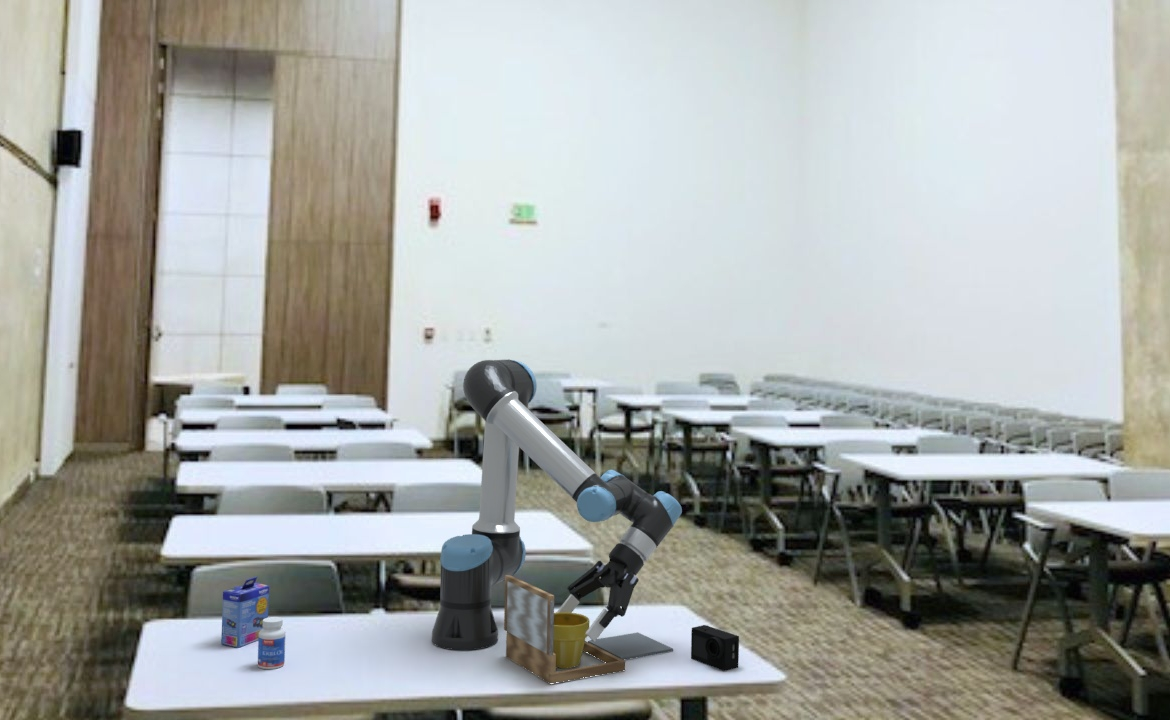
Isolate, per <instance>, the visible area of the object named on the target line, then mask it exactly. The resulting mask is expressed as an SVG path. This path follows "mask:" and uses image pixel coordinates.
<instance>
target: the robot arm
mask: <svg viewBox="0 0 1170 720" xmlns="http://www.w3.org/2000/svg"><path fill="white" fill-rule="evenodd" d="M462 387H463V394H464V397H465V399H466V401H467V402H468V404H469V405H470V407H472V409H473V410H474V411H475V412H476V414H478V415H479V416H480V417H481V418H482V419H483V420H484V435H483V452H482V453H483V454H482V467H481V468H482V469H481V470H482V471H481V481H480V482H481V483H480V498H479V499H480V501H479V513H478V514H479V517H478V520H476V522H475V523H474V524H472V527H471V533H469V534H463V535H457V536H453V537H451V538H449V539H447V540H445V541H444V543H443V544H442V546H441V553H440V559H439V563H440V588H439V589H440V593H439V595H440V598H439V599H440V600H439V602H440V603H439V604H440V606H439V610H438V614H437V616H436V618H435V621H434V624H433V628H432V632H431V642H432V644H433V645H435V646H436V647H439V648H443V649H448V650H455V651H458V650H460V651H467V650H468V651H470V650H471V651H472V650H479V649H485V648H488V647H491V646H493V645H495V644H496V643H498V641H499V630H498V626H497V623H496V619H495V616H494V613H493V609H492V587H493V586H495V585H497V584H499V583H501V582H505V575H511V576H513V577H515V575H516V574H517V573H518V572H520V570H521V568H522V567H523V565H524V564H525V561H526V556H527V555H526V553H527V552H526V551H527V550H526V544H525V543H524V541H523V540H522V537H521V534H520V533H521V528H520V526H519V525H518V523H517V522H516V521H515V517H516V514H515V513H516V503H517V502H516V500H517V486H518V483H517V482H518V471H519V470H518V469H519V453H520V450H521V451H522V452H524V453H525V454H526V455H527V456H528V457H529V458H530V459H531V460H532V461H533V462H534V463H535V464H536V465H537V466H538V467H539V468H540V469H541V470H543V472H545V474H546V475H548V476H549V477H550V479H552V480H553V481H554V482H555V483H556V484H557V485H558V486H559V487H560V488H561V490H563V491H564V492H565V493H566V494H568V496H570V497H571V498H572V500H574V502H575V503H576V508H577V512H578V513H579V516H581V518H583V519H584V521H587V522H590V523H598V522H604V521H607V520H609V519H610V518H612V517H614V516H617V515H621V516H622V517H624V518H625V519H627V520H628V521H630V522H632V524H631V525H630V527H629V528H628V529H627V530H626V531H625V533H623V535H622V536H621V538H620V539H619V543H616V544H615V546H614V547H613V549H612V550H611V551H610V552H609V553H608V558H609V561H608V562H607V563H606V564H604V563H603V562H602V560H598V561H597V562H596V563H595V564H594V565H593V566H592V567H591V568H590V569H589V570H588V571H586V572H584V573H583V574H582V575H581V576H579V577H578V578H577V579H575V581H572V583H570V584H569V585H568V586H567V588H566V589H567V591H568V592H569V595H568V596H567V597H566V598H565V600H564V601H563V603H561V605H560V607H559V608H558V610H557V611H556V612H555V613H559V612H569V613H574V610H575V609H576V607H577V606H578V605H579V604H580V603H581V599H583V598H584V597H585V596H587V595H590V594H591V593H593V592H594V591H596V590H598V589H600V588H601V589H604V588H609V595H608V602H607V605H606V606H605V608H603V609H602V610H601V612H600V613H599V614H598V616H597V617H596V618H595V620H594V621H593V622H592V624H591V625H589V629H588V630H587V632H586V634H587V635H588V636H587V637H588V638H589V639H590V640H592V641H594V642H595V641H596V640H597V639H599V637H600V636H601V634H602V633H603V632H604V630H605V629H606V628H607V627H608V626H609V625H610V623H612V621H613V620H614V618H617V617H618V616H620V617H624V616H625V615H626V612H627V610H628V607H629V603H630V601H631V597H632V595H633V592H634V589H635V587H636V585H637V584H638V582H639V578H638V577H637V574H638V573H640V571H641V570H642V568H643V566H644V565H645V564H644V562H647V561H648V560H649V558H650V556H652V554H653V553H654V551H655V550H656V549H657V548H658V547H659V545H660V544H661V542H662V541H663V540H664V539H665V538H666V536H667V535H668V533H669V532H670V531H671V530H672V529H673V527H674V525H675V524H676V522H677V521H678V519H679V518H680V516H681V515H682V514H683V513H682V512H683V509H682V506H681V504H680V502H679V501H678V500H677V499H676V498H675V497H673V496H672V495H671V494H669V493H666V491H662V490H661V491H659V490H658V491H657V492H656V493H655V494H653V495H652V494H651V493H648V492H647V491H645V490H644V489H643V488H641V487H640V486H638V485H637V484H636V483H634V482H632V481H631V480H630V479H628V478H627V477H626V476H625V475H623V474H621V473H619V472H618V471H616V470H614V469H609V470H607V471H606V472H604V473H603V474H602V475H601V476H599V475H598V474H597V473H596V472H595V471H594V470H593V469H592V468H591V467H590V466H588V464H586V463H585V462H584V461H583V460H582V459H581V458H580V457H579V456H578V455H577V454H576V453H575V452H574V451H573V450H572V449H571V448H570V447H569V446H568V445H567V444H565V442H564V441H562V440H561V439H560V438H559V437H558V436H557V435H556V434H555V433H554V432H553V431H551V429H550V428H549V427H547V425H546V424H544V423H543V422H542V421H541V420H540V418H538V417H537V416H536V415H535V414H534V413H533V412H532V411H531V410H529V405H530V403H531V402H532V400H534V398H535V396H536V393H537V387H538V385H537V379H536V376H535V373H533V370H531V369H530V367H529V366H528V365H527V364H525V363H523V362H521V361H519V360H513V359H509V358H508V359H494V360H493V359H485V360H481V361H478V362H476V363H475V364H473V365H472V366H471V367H470V368H469V369H468V370H467V371H466V373H465V375H464V378H463V383H462Z"/></svg>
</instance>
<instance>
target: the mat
mask: <svg viewBox="0 0 1170 720" xmlns="http://www.w3.org/2000/svg"><path fill="white" fill-rule="evenodd" d="M587 642H589V643H591V644H593V645H594V646H596V647H598V648H600V649H602V650H604V651H606V652H608V653H610V654H612V655H614V656H616V657H618V658H620V659H622V660H624V659H627V660H631V659H630V658H633V659H637V658H636V657H638V658H642V657H643V656H644V657H648V656H649V657H650V656H654V655H659V654H660V655H661V654H665V653H670V652H673V651H674V648H673V647H671V646H669V645H666V644H665V643H662V642H660V641H657V640H656V639H653V638H651V637H649V636H647V635H644V634H642V633H641V632H632V633H626V634H621V635H615V636H614V635H613V636H609V637H602V638H597V640H596V641H595V642H594V641H592V640H591V639H590V640H589V639H588V640H587ZM624 661H625V660H624Z"/></svg>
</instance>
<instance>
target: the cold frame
mask: <svg viewBox="0 0 1170 720" xmlns="http://www.w3.org/2000/svg"><path fill="white" fill-rule="evenodd" d="M503 610H504V614H503V615H504V617H503V619H504V621H503V622H504V624H503V625H504V626H503V630H504V631H505V632H506V633H505V635H506V640H505V641H506V643H505V644H506V645H505V646H506V647H505V648H506V649H505V657H506V658H507V659H508V660H510V661H512V662H514V663H515V664H517V665H518V664H519V666H520V667H522V668H523V667H524V669H525V668H526V669H527V670H526V669H525V670H526V671H528V670H529V671H528V672H530V673H531V672H533V673H534V674H536V675H537V676H536V675H535V676H536V677H538V676H539V677H540V678H539V677H538V678H539V679H541V678H542V679H544V680H545V681H544V680H543V681H544V682H546V681H547V682H549V683H556V682H563V681H568V680H574V679H579V680H581V679H580V678H583V677H584V679H586V678H585V677H590V676H595V675H600V676H603V675H602V674H605V675H608V674H607V673H611V674H614V673H613V672H616V673H620V672H619V671H621V672H624V671H623V670H625V671H626V660H622V659H620V658H618V657H616V656H614V655H612V654H610V653H608V652H606V651H604V650H602V649H600V648H598V647H596V646H594V645H593V644H591V643H589V642H588V640H587V641H586V640H585V643H584V647H583V650H584V651H585V652H588V653H589V654H591V655H593V656H595V657H596V658H595V657H594V658H595V659H597V658H599V659H600V660H599V659H598V660H599V661H601V660H602V661H604V662H606V663H604V662H603V663H599V664H594V665H589V666H582V667H577V668H576V667H575V668H569V669H566V670H561V671H559V670H558V671H556V669H557V668H556V654H554V653H553V642H554V613H555V595H554V594H552V593H549V592H547V591H545V590H543V589H541V588H539V587H536V586H535V585H533V584H530V583H529V582H526V581H524V580H521V579H519V578H517V577H515V576H511V575H505V581H504V609H503ZM584 651H583V652H584ZM585 652H584V653H585ZM589 654H588V655H589ZM591 655H590V656H591ZM593 656H592V657H593ZM602 661H601V662H602ZM533 673H532V674H533ZM534 674H533V675H534ZM595 677H596V676H595ZM590 678H591V677H590ZM542 679H541V680H542ZM574 681H575V680H574ZM547 682H546V683H547ZM568 682H569V681H568ZM549 683H548V684H549ZM563 683H564V682H563Z"/></svg>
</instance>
